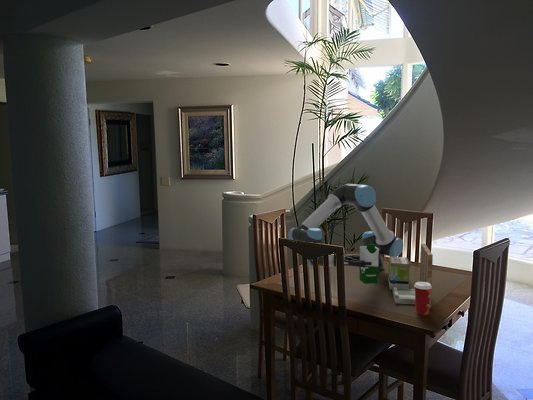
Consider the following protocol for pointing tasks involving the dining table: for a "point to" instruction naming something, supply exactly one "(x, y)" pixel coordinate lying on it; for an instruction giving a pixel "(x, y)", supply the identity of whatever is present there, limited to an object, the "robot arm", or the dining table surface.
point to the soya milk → (369, 272)
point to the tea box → (398, 272)
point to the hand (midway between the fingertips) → (378, 260)
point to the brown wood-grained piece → (425, 276)
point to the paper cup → (422, 297)
